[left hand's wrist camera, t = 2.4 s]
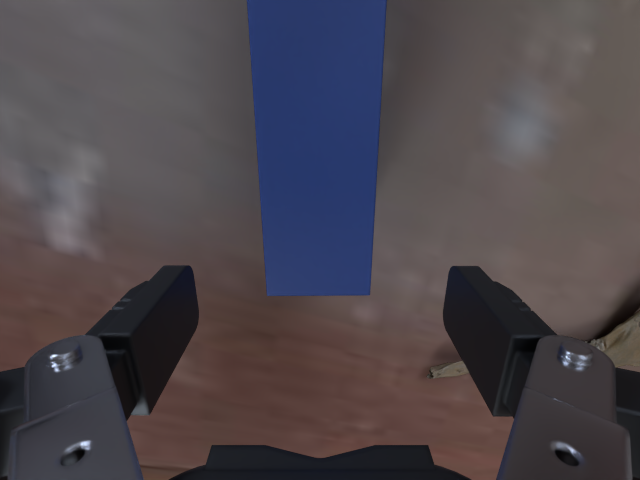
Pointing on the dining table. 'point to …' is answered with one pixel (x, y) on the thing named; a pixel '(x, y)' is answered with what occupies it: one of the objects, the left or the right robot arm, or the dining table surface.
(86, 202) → the dining table surface
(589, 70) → the dining table surface
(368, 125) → the bar
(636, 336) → the jawbone
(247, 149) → the dining table surface
